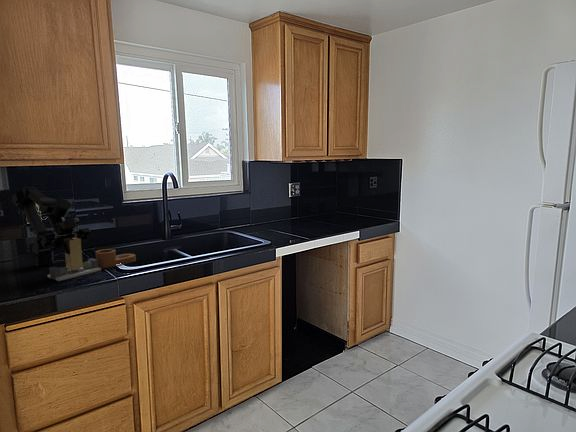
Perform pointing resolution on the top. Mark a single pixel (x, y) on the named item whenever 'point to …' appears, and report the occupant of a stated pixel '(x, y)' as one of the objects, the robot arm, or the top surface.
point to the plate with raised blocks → (66, 274)
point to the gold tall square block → (73, 253)
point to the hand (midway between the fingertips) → (75, 252)
